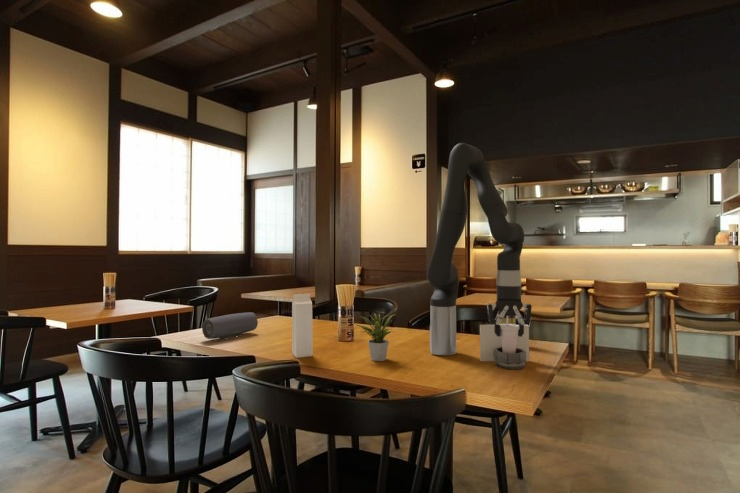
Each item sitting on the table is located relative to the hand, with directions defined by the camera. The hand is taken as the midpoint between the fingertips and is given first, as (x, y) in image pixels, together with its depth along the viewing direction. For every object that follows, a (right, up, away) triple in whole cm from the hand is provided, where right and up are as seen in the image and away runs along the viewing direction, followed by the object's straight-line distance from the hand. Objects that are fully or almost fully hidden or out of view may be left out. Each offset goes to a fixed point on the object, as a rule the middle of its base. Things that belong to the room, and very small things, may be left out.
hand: (509, 335), depth 136 cm
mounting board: (0, -10, +6) cm, 11 cm away
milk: (-69, -11, +16) cm, 72 cm away
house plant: (-41, -10, +11) cm, 44 cm away
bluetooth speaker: (-106, -11, +49) cm, 117 cm away
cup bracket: (0, -10, 0) cm, 10 cm away
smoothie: (0, -6, 0) cm, 6 cm away
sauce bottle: (+10, -10, +31) cm, 33 cm away
